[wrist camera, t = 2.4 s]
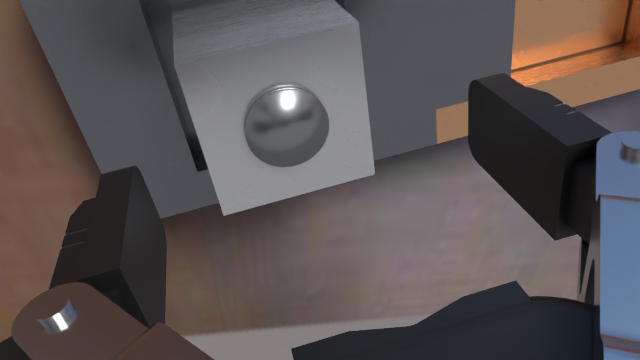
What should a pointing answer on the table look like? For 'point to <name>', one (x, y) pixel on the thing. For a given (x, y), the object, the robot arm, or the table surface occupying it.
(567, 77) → the tray
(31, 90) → the table surface
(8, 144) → the table surface
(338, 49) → the silver block
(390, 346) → the robot arm
